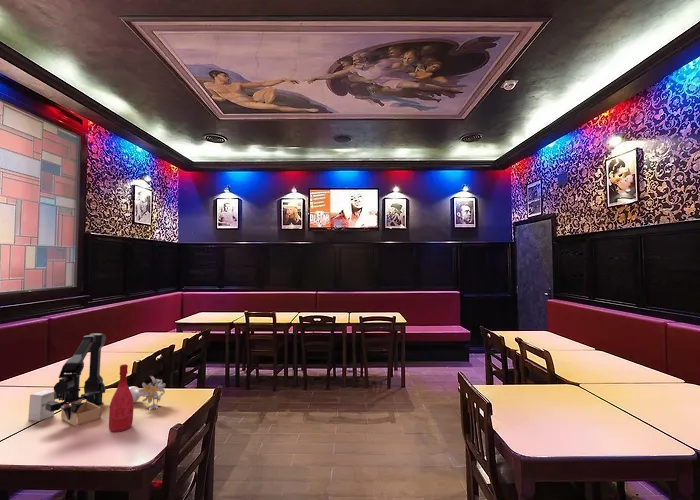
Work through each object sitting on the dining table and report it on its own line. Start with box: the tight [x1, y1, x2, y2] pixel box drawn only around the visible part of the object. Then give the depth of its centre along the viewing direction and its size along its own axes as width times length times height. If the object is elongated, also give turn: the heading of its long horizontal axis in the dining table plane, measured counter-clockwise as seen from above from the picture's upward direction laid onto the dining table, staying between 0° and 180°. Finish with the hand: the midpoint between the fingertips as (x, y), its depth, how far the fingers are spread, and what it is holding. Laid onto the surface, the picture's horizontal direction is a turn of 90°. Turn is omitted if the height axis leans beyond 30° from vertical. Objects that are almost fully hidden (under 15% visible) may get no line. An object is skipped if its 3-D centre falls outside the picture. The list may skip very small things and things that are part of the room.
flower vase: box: [128, 375, 166, 411], centre depth 199 cm, size 13×18×25 cm
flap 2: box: [67, 411, 77, 427], centre depth 173 cm, size 1×8×5 cm, turn 58°
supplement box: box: [27, 389, 56, 422], centre depth 180 cm, size 7×7×13 cm
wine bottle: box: [108, 364, 135, 433], centre depth 170 cm, size 10×10×30 cm
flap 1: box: [60, 409, 68, 423], centre depth 177 cm, size 1×7×5 cm, turn 58°
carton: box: [69, 400, 102, 427], centre depth 180 cm, size 10×16×6 cm, turn 58°
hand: (70, 419), depth 174 cm, fingers closed
